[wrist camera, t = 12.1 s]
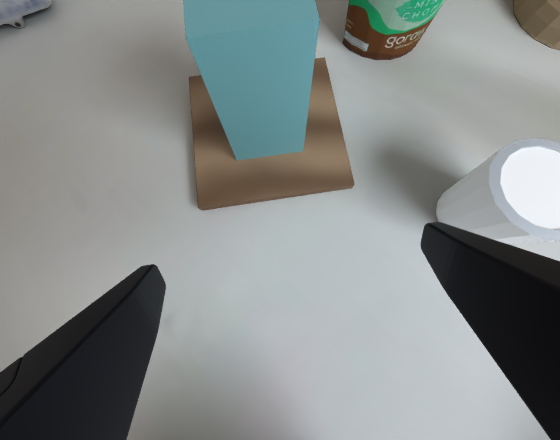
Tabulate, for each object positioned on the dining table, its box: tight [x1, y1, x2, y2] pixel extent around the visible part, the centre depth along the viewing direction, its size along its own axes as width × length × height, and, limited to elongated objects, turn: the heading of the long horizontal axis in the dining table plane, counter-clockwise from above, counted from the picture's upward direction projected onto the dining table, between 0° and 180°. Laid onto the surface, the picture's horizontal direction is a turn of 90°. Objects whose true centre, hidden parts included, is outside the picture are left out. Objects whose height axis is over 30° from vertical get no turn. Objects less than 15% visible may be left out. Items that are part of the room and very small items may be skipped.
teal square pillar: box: [183, 0, 320, 161], centre depth 18 cm, size 6×6×12 cm
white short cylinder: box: [436, 138, 560, 244], centre depth 19 cm, size 7×7×7 cm
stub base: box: [189, 57, 354, 210], centre depth 23 cm, size 14×14×4 cm
